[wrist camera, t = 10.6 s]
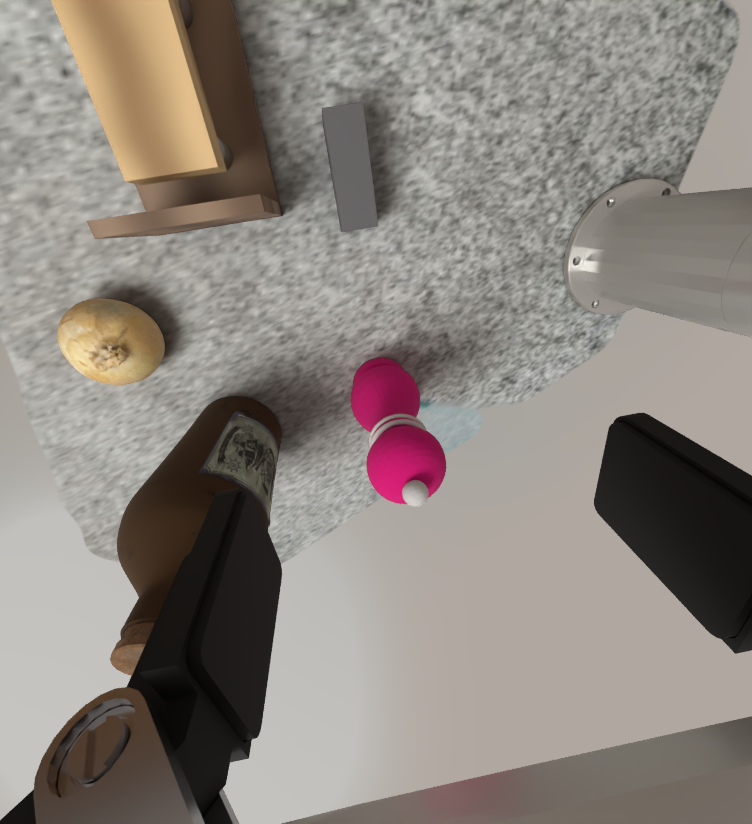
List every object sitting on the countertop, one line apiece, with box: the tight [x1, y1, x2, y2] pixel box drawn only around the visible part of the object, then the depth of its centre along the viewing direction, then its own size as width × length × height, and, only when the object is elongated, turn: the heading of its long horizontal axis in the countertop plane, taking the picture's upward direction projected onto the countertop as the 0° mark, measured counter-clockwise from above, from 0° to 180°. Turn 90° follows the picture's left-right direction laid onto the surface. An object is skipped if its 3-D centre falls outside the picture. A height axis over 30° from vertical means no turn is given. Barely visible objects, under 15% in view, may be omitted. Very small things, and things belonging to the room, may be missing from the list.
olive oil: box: [110, 397, 281, 675], centre depth 31 cm, size 11×11×25 cm
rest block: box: [322, 102, 378, 232], centre depth 29 cm, size 3×8×4 cm, turn 8°
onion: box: [57, 298, 165, 385], centre depth 32 cm, size 8×8×7 cm
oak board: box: [51, 0, 227, 185], centre depth 21 cm, size 6×12×2 cm, turn 8°
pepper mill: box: [350, 358, 446, 507], centre depth 32 cm, size 7×7×20 cm
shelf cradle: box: [87, 0, 282, 239], centre depth 23 cm, size 11×18×10 cm, turn 8°
